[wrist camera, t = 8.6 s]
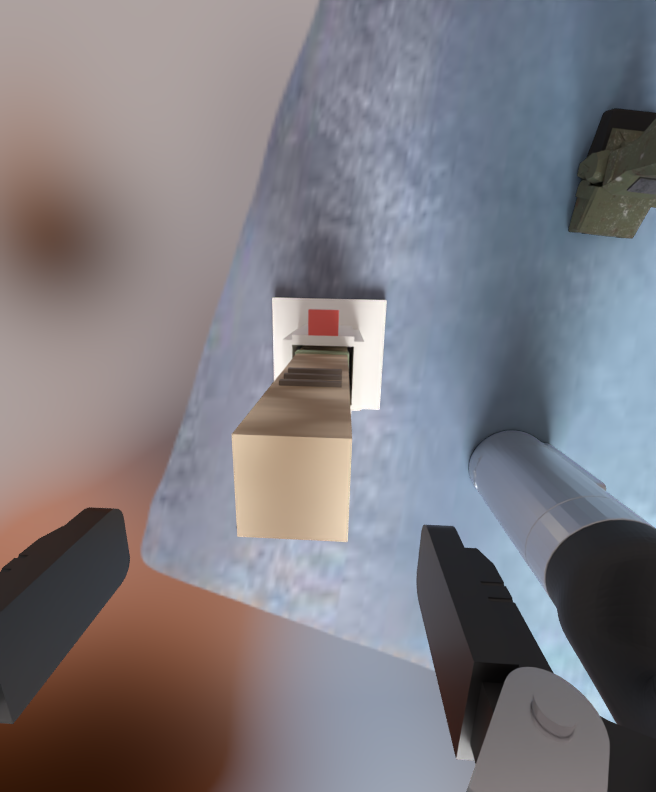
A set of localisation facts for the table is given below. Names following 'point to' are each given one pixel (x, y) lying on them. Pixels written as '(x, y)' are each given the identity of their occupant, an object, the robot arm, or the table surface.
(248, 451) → the post
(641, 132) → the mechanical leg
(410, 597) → the table surface
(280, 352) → the sleeve stand
